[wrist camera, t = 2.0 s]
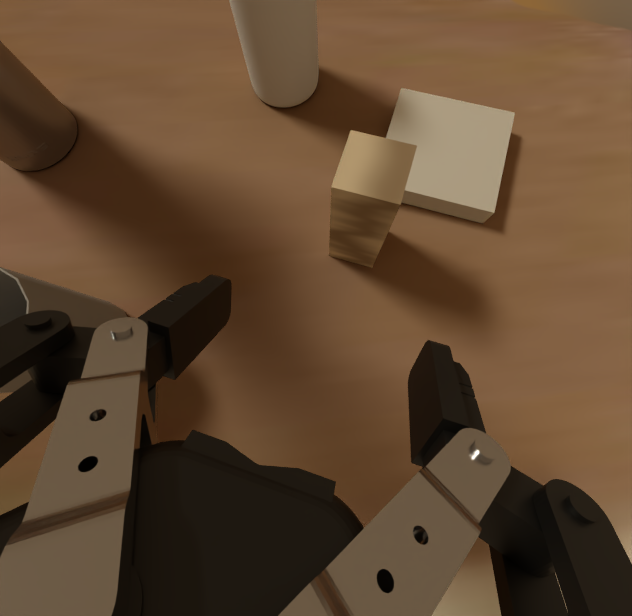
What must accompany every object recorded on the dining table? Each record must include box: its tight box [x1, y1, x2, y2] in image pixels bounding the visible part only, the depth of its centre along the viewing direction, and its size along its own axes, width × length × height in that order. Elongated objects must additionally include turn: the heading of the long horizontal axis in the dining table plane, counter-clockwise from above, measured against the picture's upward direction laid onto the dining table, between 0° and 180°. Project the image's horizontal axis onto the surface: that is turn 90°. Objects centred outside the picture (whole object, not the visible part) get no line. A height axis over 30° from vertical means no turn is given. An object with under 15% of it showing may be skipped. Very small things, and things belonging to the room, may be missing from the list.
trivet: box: [386, 88, 515, 223], centre depth 30 cm, size 12×12×2 cm
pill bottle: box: [229, 0, 319, 107], centre depth 26 cm, size 8×8×15 cm
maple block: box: [329, 130, 417, 268], centre depth 24 cm, size 4×4×11 cm
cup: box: [0, 267, 127, 393], centre depth 23 cm, size 8×8×10 cm
